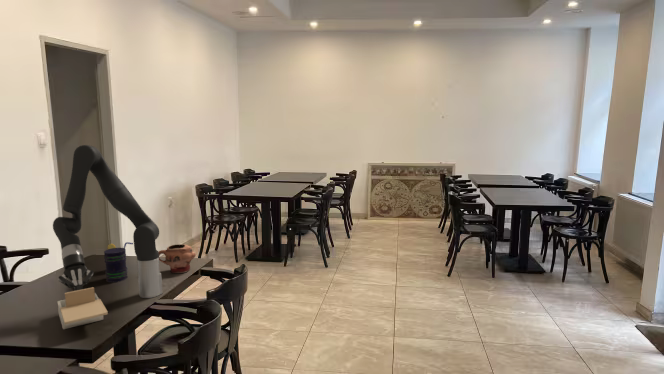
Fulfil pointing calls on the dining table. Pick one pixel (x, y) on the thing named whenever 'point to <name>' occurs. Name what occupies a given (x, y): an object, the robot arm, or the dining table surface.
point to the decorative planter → (178, 257)
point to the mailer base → (65, 326)
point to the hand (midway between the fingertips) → (79, 294)
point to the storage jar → (115, 264)
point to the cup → (115, 247)
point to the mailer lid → (82, 306)
